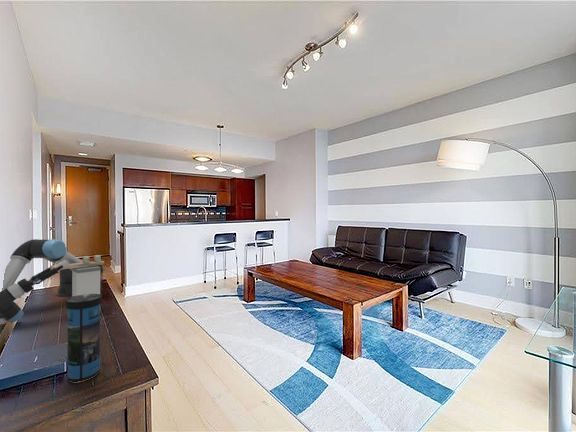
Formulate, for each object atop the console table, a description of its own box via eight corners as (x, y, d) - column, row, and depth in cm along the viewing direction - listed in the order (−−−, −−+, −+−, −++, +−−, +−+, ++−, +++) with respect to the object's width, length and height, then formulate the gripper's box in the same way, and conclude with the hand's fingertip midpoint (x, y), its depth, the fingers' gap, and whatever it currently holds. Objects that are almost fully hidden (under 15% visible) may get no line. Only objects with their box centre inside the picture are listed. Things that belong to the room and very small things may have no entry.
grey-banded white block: (72, 312, 177) (72, 267, 176) (94, 307, 186) (94, 264, 185) (76, 317, 169) (77, 269, 168) (100, 312, 178) (100, 267, 177)
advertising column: (108, 369, 114) (108, 294, 114) (84, 386, 103) (84, 303, 103) (84, 366, 116) (84, 292, 116) (57, 382, 105) (57, 301, 104)
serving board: (50, 269, 165) (50, 259, 165) (102, 263, 185) (102, 254, 184) (51, 270, 163) (51, 260, 162) (104, 264, 182) (104, 255, 182)
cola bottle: (105, 297, 208) (106, 256, 207) (96, 300, 199) (97, 257, 199) (95, 296, 209) (95, 255, 208) (85, 300, 200) (85, 257, 200)
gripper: (23, 290, 162) (68, 265, 177) (28, 296, 150) (75, 269, 165) (14, 280, 159) (60, 255, 174) (18, 285, 148) (66, 258, 162)
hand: (67, 262), depth 169 cm, fingers closed on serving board, 4 cm apart
